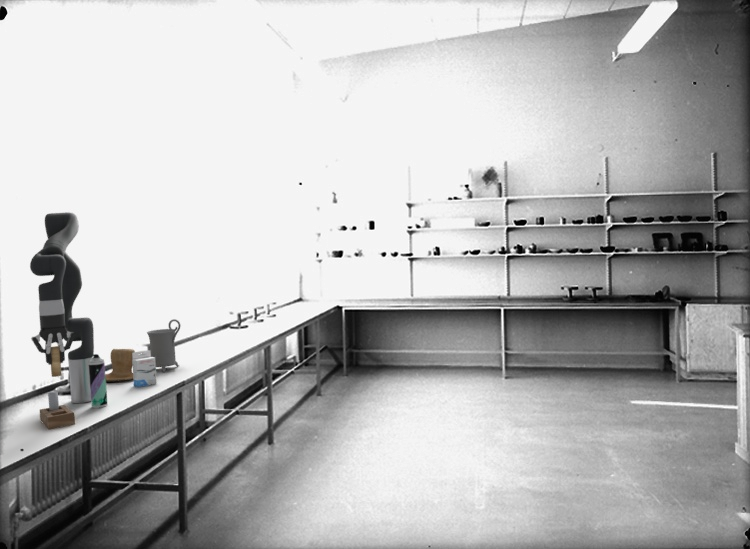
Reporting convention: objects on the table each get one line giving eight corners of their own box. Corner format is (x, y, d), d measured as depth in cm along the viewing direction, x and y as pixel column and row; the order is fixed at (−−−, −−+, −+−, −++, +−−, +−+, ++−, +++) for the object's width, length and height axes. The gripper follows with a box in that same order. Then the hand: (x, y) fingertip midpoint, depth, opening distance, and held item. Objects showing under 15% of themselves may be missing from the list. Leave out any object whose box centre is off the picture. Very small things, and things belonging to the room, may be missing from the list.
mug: (140, 372, 289) (136, 322, 288) (156, 366, 304) (153, 318, 303) (175, 372, 286) (172, 321, 285) (190, 366, 300) (187, 317, 299)
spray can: (88, 407, 225) (84, 355, 224) (99, 403, 230) (96, 352, 229) (99, 408, 223) (95, 355, 222) (110, 404, 228) (107, 353, 227)
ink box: (137, 387, 256) (135, 353, 256) (133, 385, 260) (131, 352, 259) (157, 383, 262) (154, 350, 262) (152, 382, 266) (150, 349, 265)
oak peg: (50, 376, 203) (48, 347, 202) (60, 374, 205) (58, 345, 204) (52, 377, 200) (50, 347, 200) (62, 375, 202) (60, 346, 202)
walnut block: (40, 420, 210) (39, 409, 210) (65, 415, 215) (64, 404, 215) (48, 429, 198) (48, 417, 198) (75, 423, 203) (74, 412, 203)
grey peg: (49, 420, 210) (47, 392, 209) (58, 418, 212) (56, 390, 211) (51, 421, 207) (48, 393, 207) (60, 420, 209) (58, 392, 209)
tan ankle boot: (141, 376, 280) (139, 345, 279) (132, 382, 268) (130, 349, 267) (108, 378, 279) (106, 347, 278) (98, 384, 267) (95, 351, 267)
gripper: (71, 310, 209) (75, 359, 210) (26, 315, 200) (30, 365, 201) (77, 311, 203) (80, 361, 204) (30, 316, 194) (34, 368, 195)
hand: (55, 363), depth 202 cm, fingers closed on oak peg, 3 cm apart
